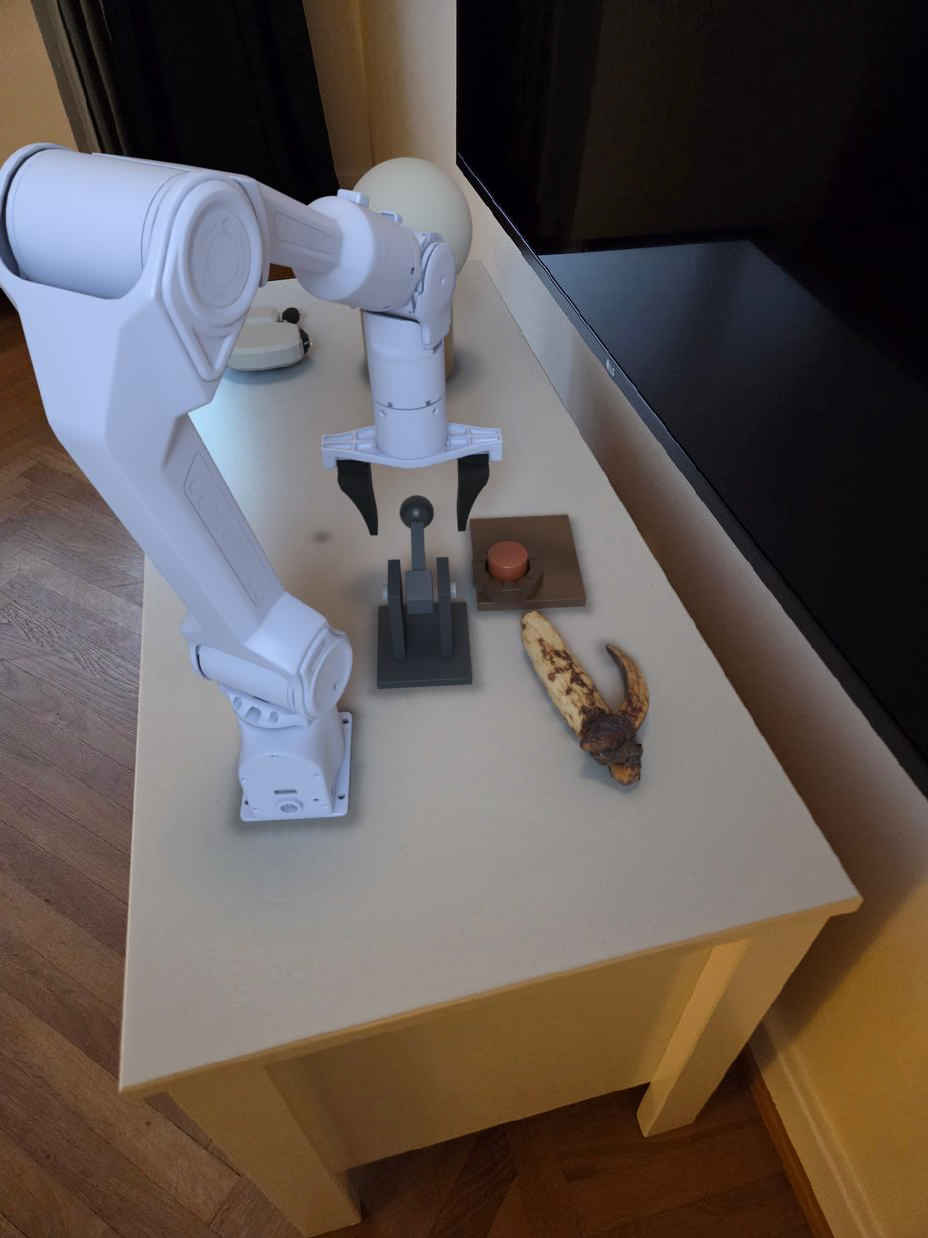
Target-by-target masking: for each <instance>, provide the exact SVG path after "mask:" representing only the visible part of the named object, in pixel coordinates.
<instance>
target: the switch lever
mask: <svg viewBox="0 0 928 1238" xmlns="http://www.w3.org/2000/svg"><path fill="white" fill-rule="evenodd" d="M434 516H435V510H434V505H433V504H432V502H431V501H430V500H429V498H427V497H425V496H424V495H419V494H414V495H411V496H408V497H407V498H405V499H404V500H403V501H402V503H401V505H400V507H399V519H400V520H401V522H402V524H403V525H404V526H405V527H406V528H408V529H410V545H411V546H410V547H411V549H410V550H411V570H405V572H404V578H405V579H404V581H405V583H404V584H405V605H407V613H408V614H422V613H434V604H435V602H434V584H433V583H434V582H433V579H434V578H433V570H432V569H426V552H425V551H426V547H425V545H426V544H425V528H427V527H429V526H430V525H431V523H432V522H433V520H434Z"/></svg>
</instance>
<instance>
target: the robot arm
mask: <svg viewBox="0 0 928 1238" xmlns="http://www.w3.org/2000/svg"><path fill="white" fill-rule="evenodd" d="M369 200H370V199H369V197H368V196H367V195H364V194H362V193H360V192H356V191H353V190H348V189H344V188H339V189H338V190H337V194H336V195H329V196H324V197H320V198H317V199H315V200H313V201H312V202H310V203H309V204H308V205H306V204H304V203H302V202H301V201H299V200H296V199H295V198H292V197H291V196H288V195H286V194H284V193H282V192H280V191H278V190H276V189H274V188H272V187H270V186H269V185H266V184H264V183H262V182H260V181H258V180H256V179H255V178H253V177H250V176H248V175H245V174H239V173H234V172H228V171H221V170H216V169H211V168H204V167H198V166H193V165H187V164H182V163H181V164H180V163H174V162H166V161H159V160H152V159H145V158H138V157H130V156H124V155H116V154H108V153H101V152H92V153H85V152H79V151H75V150H74V149H73V148H71V147H66V146H64V145H59V144H56V143H53V142H52V143H51V142H34V143H31V144H30V143H29V144H26V145H24V146H22V147H21V148H19V149H17V150H15V152H13V153H12V154H11V155H10V156H9V157H8V158H7V159H6V160H5V162H4V163H3V164H2V165H1V168H0V288H1V289H2V291H3V292H4V294H5V295H6V297H7V298H8V299H9V301H10V302H11V304H12V305H13V307H14V308H15V310H16V311H17V312H18V315H19V318H20V322H21V326H22V330H23V333H24V338H25V341H26V345H27V348H28V352H29V356H30V360H31V364H32V367H33V371H34V375H35V379H36V383H37V387H38V390H39V394H40V397H41V402H42V405H43V409H44V414H45V416H46V419H47V421H48V424H49V427H50V428H51V430H52V432H53V433H54V435H55V437H56V439H57V440H58V441H59V443H60V444H61V446H62V447H63V448H64V449H65V450H66V452H67V453H68V454H69V456H70V457H71V458H72V460H73V461H74V462H75V464H76V465H77V466H78V467H79V469H80V470H81V471H82V473H83V474H84V475H85V476H86V478H87V479H88V480H89V482H90V483H91V485H92V486H93V487H94V489H95V490H96V491H97V493H98V494H99V495H100V496H101V497H102V499H103V500H104V502H105V503H106V504H107V505H108V507H109V508H110V509H111V511H112V512H113V514H114V515H115V516H116V517H117V518H118V520H119V522H120V523H121V524H122V525H123V526H124V528H126V530H127V531H128V533H129V534H130V535H131V537H132V538H133V539H134V540H135V542H136V544H138V546H139V547H140V548H141V550H142V551H143V552H144V554H145V555H146V557H147V558H148V559H149V560H150V561H151V563H152V565H154V567H155V568H156V569H157V571H158V572H159V574H160V575H161V576H162V577H163V579H164V580H165V581H166V583H167V584H168V585H169V586H170V588H171V589H172V590H173V591H174V593H175V594H176V596H177V597H178V598H179V600H180V601H181V602H182V603H183V604H184V606H185V607H186V609H187V610H186V612H185V613H184V617H183V619H182V621H181V624H180V626H179V629H178V633H179V634H180V635H181V636H182V637H183V639H184V640H185V642H186V645H187V647H188V653H189V660H190V665H191V668H192V670H193V672H194V673H195V674H196V675H197V676H198V677H199V678H201V679H204V680H207V681H209V682H213V681H214V682H216V684H217V686H218V689H219V692H220V694H222V695H224V696H225V697H226V698H227V699H228V701H229V703H230V705H231V708H232V711H233V714H234V716H235V720H236V724H237V726H238V730H239V731H238V732H239V735H240V749H239V750H240V752H239V757H238V765H237V777H238V781H239V783H240V786H241V789H242V798H241V803H240V812H239V817H240V819H241V821H243V822H246V823H247V822H264V821H265V822H266V821H281V820H283V821H284V820H285V821H286V820H300V819H302V820H303V819H319V818H321V819H322V818H335V817H336V818H337V817H344V816H346V815H347V814H348V812H349V802H350V801H349V800H350V781H351V780H350V779H351V778H350V777H351V759H352V737H353V732H352V731H353V715H352V713H351V712H350V711H339V710H338V705H337V703H338V702H339V701H340V699H341V697H342V696H343V694H344V692H345V690H346V688H347V685H348V683H349V681H350V678H351V674H352V669H353V662H354V654H353V648H352V644H351V639H350V638H349V635H348V634H347V633H346V632H345V631H344V630H341V629H337V628H333V627H332V626H331V625H330V622H329V620H328V618H327V617H326V616H324V615H323V614H322V613H320V612H319V611H318V610H316V609H314V608H313V607H311V606H310V605H308V604H307V603H305V602H303V601H302V600H300V599H299V598H298V597H296V596H294V595H293V594H292V593H290V592H289V591H288V590H287V589H285V587H284V585H283V584H282V582H281V579H280V578H279V577H278V574H277V573H276V571H275V570H274V567H273V565H272V563H271V562H270V560H269V558H268V556H267V555H266V552H265V551H264V549H263V547H262V546H261V544H260V542H259V540H258V538H257V536H256V534H255V533H254V531H253V529H252V528H251V525H250V523H249V522H248V520H247V518H246V516H245V515H244V513H243V511H242V509H241V507H240V506H239V504H238V502H237V500H236V498H235V497H234V495H233V493H232V491H231V489H230V487H229V485H228V484H227V482H226V481H225V478H224V477H223V474H222V472H221V471H220V469H219V468H218V466H217V464H216V462H215V461H214V458H213V456H212V454H211V453H210V451H209V449H208V447H207V446H206V444H205V442H204V441H203V439H202V437H201V435H200V433H199V431H198V429H197V428H196V426H195V424H194V422H193V421H192V419H191V417H190V414H189V413H191V412H193V411H196V410H198V409H200V408H203V407H205V406H207V405H209V404H211V403H212V402H213V400H214V397H215V395H216V392H217V391H218V388H219V385H220V383H221V381H222V378H223V375H224V373H225V371H226V368H227V367H228V366H227V363H228V361H229V359H230V356H231V354H232V351H233V349H234V346H235V344H236V341H237V339H238V337H239V334H240V332H241V329H242V327H243V324H244V322H245V319H246V317H247V315H248V312H249V310H250V307H252V305H253V301H254V299H255V298H256V295H257V293H258V289H262V288H264V287H265V286H266V285H267V284H268V282H269V275H270V274H269V273H270V266H271V265H270V264H273V265H278V266H282V267H288V268H291V270H292V273H293V274H294V276H295V279H296V280H297V282H298V283H299V285H300V286H301V287H302V289H303V290H305V291H306V292H307V293H308V294H309V295H311V296H313V297H315V298H316V299H319V300H321V301H326V302H329V303H330V302H331V303H334V304H339V305H344V306H348V307H349V308H350V309H351V310H355V309H356V308H357V309H360V308H361V309H365V310H364V311H363V312H362V313H363V322H364V331H365V341H366V350H367V359H368V369H369V376H368V377H369V387H370V397H371V405H372V416H373V425H369V426H365V427H361V428H358V429H353V430H349V431H345V432H340V433H335V434H323V435H321V440H320V455H321V461H322V468H323V469H324V470H327V469H329V470H330V469H336V468H337V478H336V479H337V484H338V487H339V489H340V490H341V492H343V494H344V495H346V496H347V497H348V499H350V501H351V502H352V503H353V504H354V506H355V507H356V508H357V510H358V512H359V514H360V515H361V517H362V519H363V521H364V522H365V525H366V527H367V530H368V533H369V536H371V537H372V536H379V514H378V513H379V512H378V506H377V501H376V497H375V491H374V485H373V476H372V475H373V474H372V464H375V465H381V466H387V467H393V468H399V469H404V470H405V469H407V470H408V469H409V470H410V469H412V470H414V469H421V468H426V467H430V466H433V465H437V464H441V463H444V462H448V461H452V460H456V462H457V490H456V491H457V493H456V507H455V508H456V524H457V525H456V526H457V532H458V533H460V532H466V531H467V524H468V522H469V521H468V520H469V517H470V513H471V511H472V508H473V507H474V504H475V502H476V500H477V498H478V497H479V495H480V494H481V492H482V491H483V489H484V488H485V487H486V485H487V484H488V481H489V478H490V464H489V463H490V462H502V461H503V449H504V448H503V447H504V445H503V443H504V441H503V433H502V428H501V427H484V426H483V427H482V426H474V425H470V424H463V423H457V422H451V421H448V419H447V391H446V388H447V387H446V380H445V356H444V337H445V336H446V335H447V334H448V332H449V326H450V323H451V303H452V298H454V293H455V290H456V284H457V279H458V278H457V277H458V275H457V261H455V255H454V251H453V249H452V247H451V246H450V245H449V244H448V243H445V242H444V239H443V237H442V236H441V235H440V234H439V233H436V232H430V231H425V230H419V229H414V228H408V227H406V226H405V225H403V224H402V221H403V218H402V216H401V215H400V214H397V213H395V212H391V211H385V210H381V211H379V213H376V212H374V211H372V210H370V209H368V207H369ZM357 203H358V204H357ZM363 206H364V207H363ZM365 207H366V208H365ZM489 461H490V462H489ZM341 797H343V798H342V799H340V798H341Z"/></svg>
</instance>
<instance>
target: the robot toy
mask: <svg viewBox="0 0 928 1238" xmlns="http://www.w3.org/2000/svg"><path fill="white" fill-rule="evenodd" d="M302 314H303V308H302V307H291V306H289V307H286V308H285V310H284V311H283V312H281V317H280V311H279V310H277V309H276V308H275V307H274V306H271V305H256V306H251V307H250V310H249V312H248V315H247V317H246V319H245V322H244V324H243V327H242V329H241V332H240V334H239V337H238V339H237V341H236V344H235V346H234V349H233V351H232V354H231V356H230V359H229V361H228V363H227V366H226V367H227V368H229V369H231V370H234V371H235V370H236V371H242V372H252V371H267V370H273V369H278V368H282V367H283V368H287V367H289V366H292V365H294V364H296V363H298V362H300V361H301V360H303V359H304V355H306V354H307V353H308V351H309V349H310V347H314V344H313V338H312V337H309V334H308V333H307V332H306V331H305V330H304V329H303V328H300V327H299V326H298V323H299V321H300V318H301V317H300V316H302Z"/></svg>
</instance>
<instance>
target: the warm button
mask: <svg viewBox="0 0 928 1238" xmlns="http://www.w3.org/2000/svg"><path fill="white" fill-rule="evenodd" d="M527 561H528V553H527V550H526V549H525V548H524V547H523V546H522V545H521V544H519V543H516V542H511V541H504V542H499V543H497V544H495V545H493V546H492V547H491V548H490V550H489V552H488V571H489V573H490V574H491V575H492V576H493V577H494V578H496V579H498V580H501V581H515V580H518V579H520V578H522V577H523V576H524V575H525V573H526V571H527Z"/></svg>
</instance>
